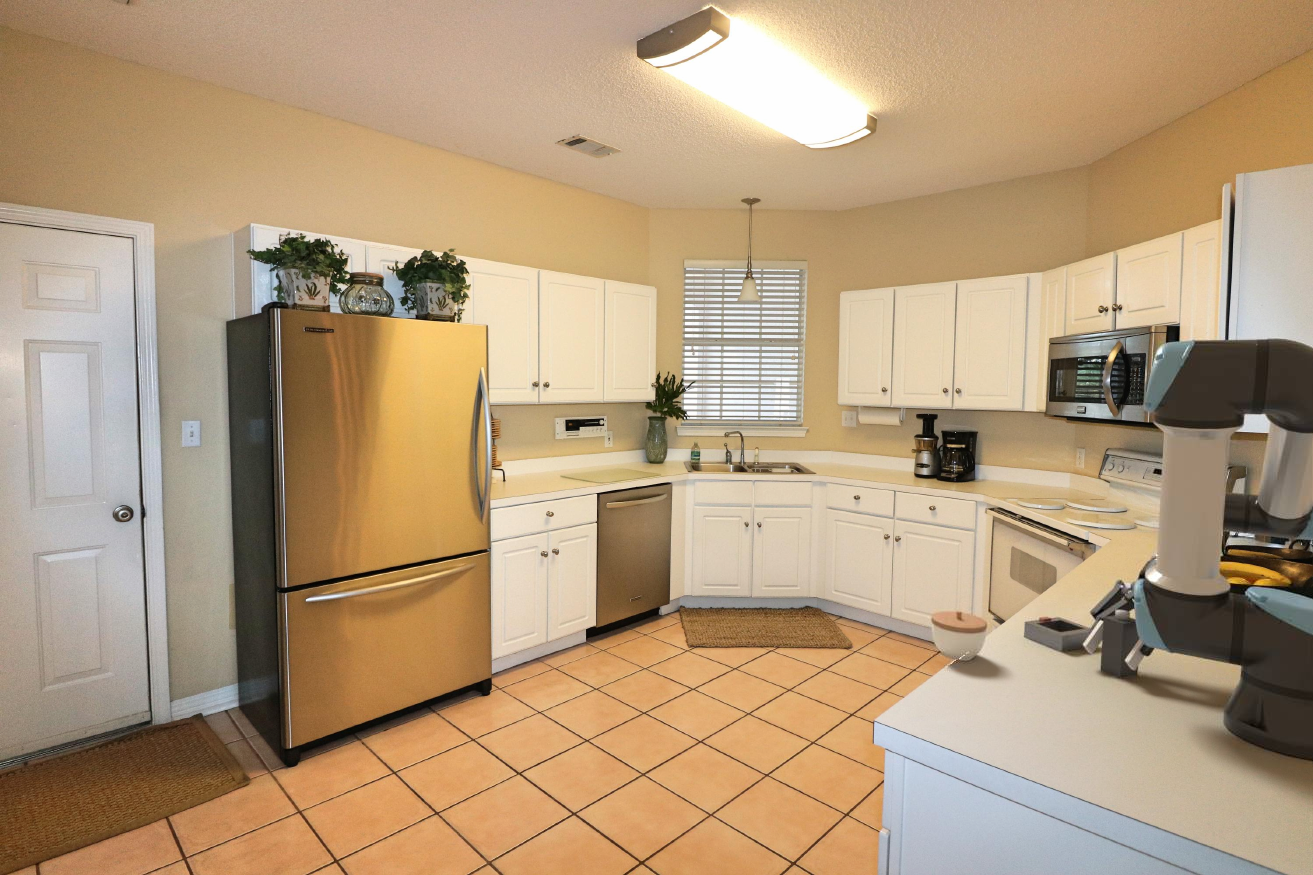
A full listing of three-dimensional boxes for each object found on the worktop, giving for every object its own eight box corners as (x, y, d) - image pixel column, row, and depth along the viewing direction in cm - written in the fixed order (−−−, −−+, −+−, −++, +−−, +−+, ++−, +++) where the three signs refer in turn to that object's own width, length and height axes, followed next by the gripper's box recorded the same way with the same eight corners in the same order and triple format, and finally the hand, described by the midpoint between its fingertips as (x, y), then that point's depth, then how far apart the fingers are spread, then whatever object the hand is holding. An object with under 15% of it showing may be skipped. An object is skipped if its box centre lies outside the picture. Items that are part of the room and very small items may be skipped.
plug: (1137, 675, 136) (1141, 613, 135) (1119, 678, 134) (1123, 615, 134) (1117, 667, 140) (1121, 607, 139) (1100, 670, 138) (1104, 609, 137)
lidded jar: (926, 658, 143) (928, 614, 142) (932, 642, 152) (934, 600, 152) (984, 669, 138) (986, 623, 137) (986, 651, 148) (988, 608, 147)
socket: (1096, 645, 152) (1097, 627, 151) (1061, 651, 148) (1062, 633, 148) (1057, 631, 160) (1058, 614, 160) (1023, 636, 157) (1024, 619, 157)
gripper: (1233, 596, 132) (1171, 690, 127) (1126, 569, 151) (1068, 649, 147) (1217, 571, 129) (1153, 665, 125) (1110, 547, 149) (1052, 628, 144)
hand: (1107, 657), depth 136 cm, fingers open, 8 cm apart
